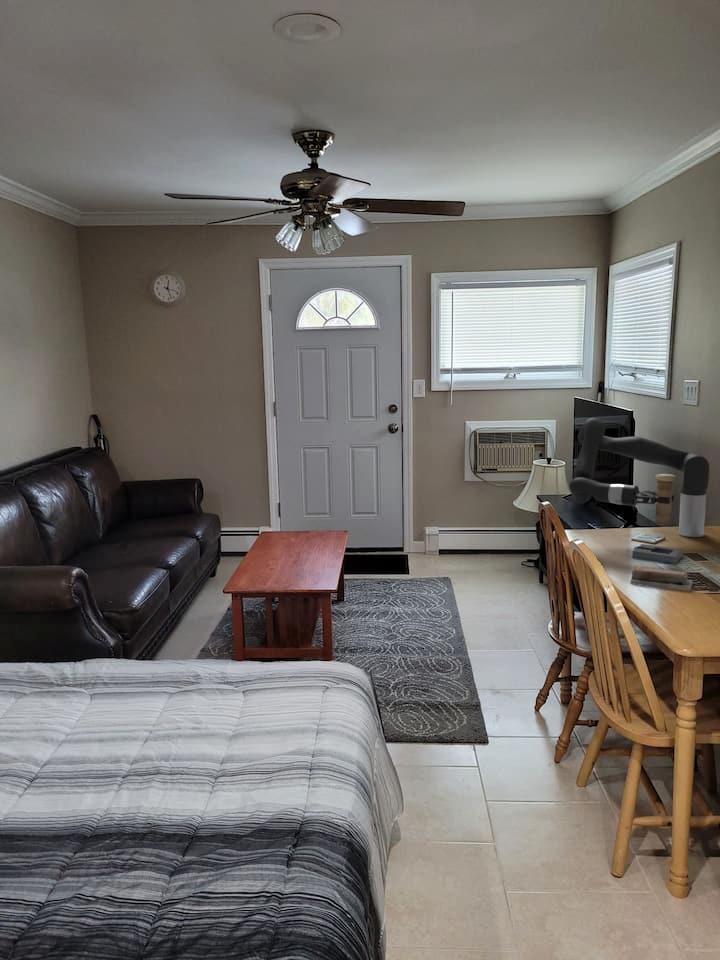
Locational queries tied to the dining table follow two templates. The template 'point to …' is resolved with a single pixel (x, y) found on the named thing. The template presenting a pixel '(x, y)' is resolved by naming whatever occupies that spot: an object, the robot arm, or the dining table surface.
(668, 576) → the packaged product
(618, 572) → the dining table surface
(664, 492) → the walnut peg
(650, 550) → the keyhole plate
